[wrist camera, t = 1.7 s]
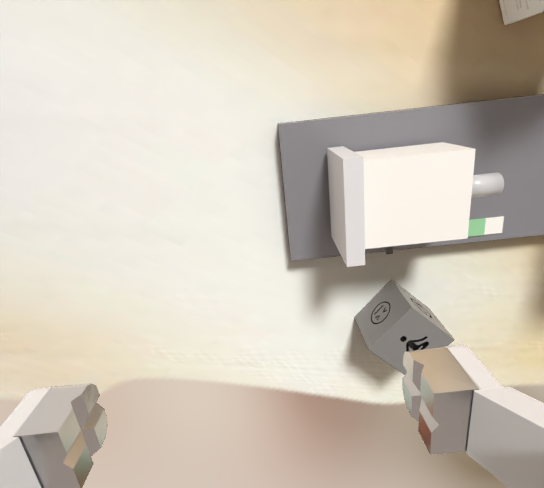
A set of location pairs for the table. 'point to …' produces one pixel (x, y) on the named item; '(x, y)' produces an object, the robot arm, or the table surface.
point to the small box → (520, 9)
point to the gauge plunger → (402, 196)
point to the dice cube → (399, 326)
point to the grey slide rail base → (415, 131)
